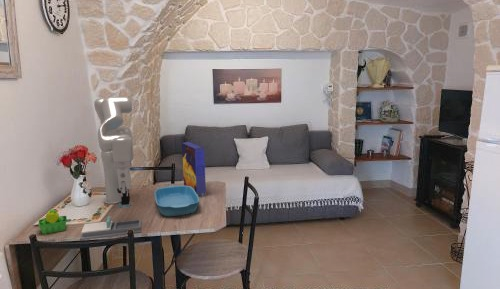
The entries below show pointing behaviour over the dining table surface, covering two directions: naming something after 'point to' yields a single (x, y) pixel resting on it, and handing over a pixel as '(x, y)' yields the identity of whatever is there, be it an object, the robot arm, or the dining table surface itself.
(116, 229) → the dock
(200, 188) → the cereal box
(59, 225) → the fruit basket
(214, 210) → the dining table surface
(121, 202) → the push button
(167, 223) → the dining table surface
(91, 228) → the shutter lid
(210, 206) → the dining table surface
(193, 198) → the casserole dish
